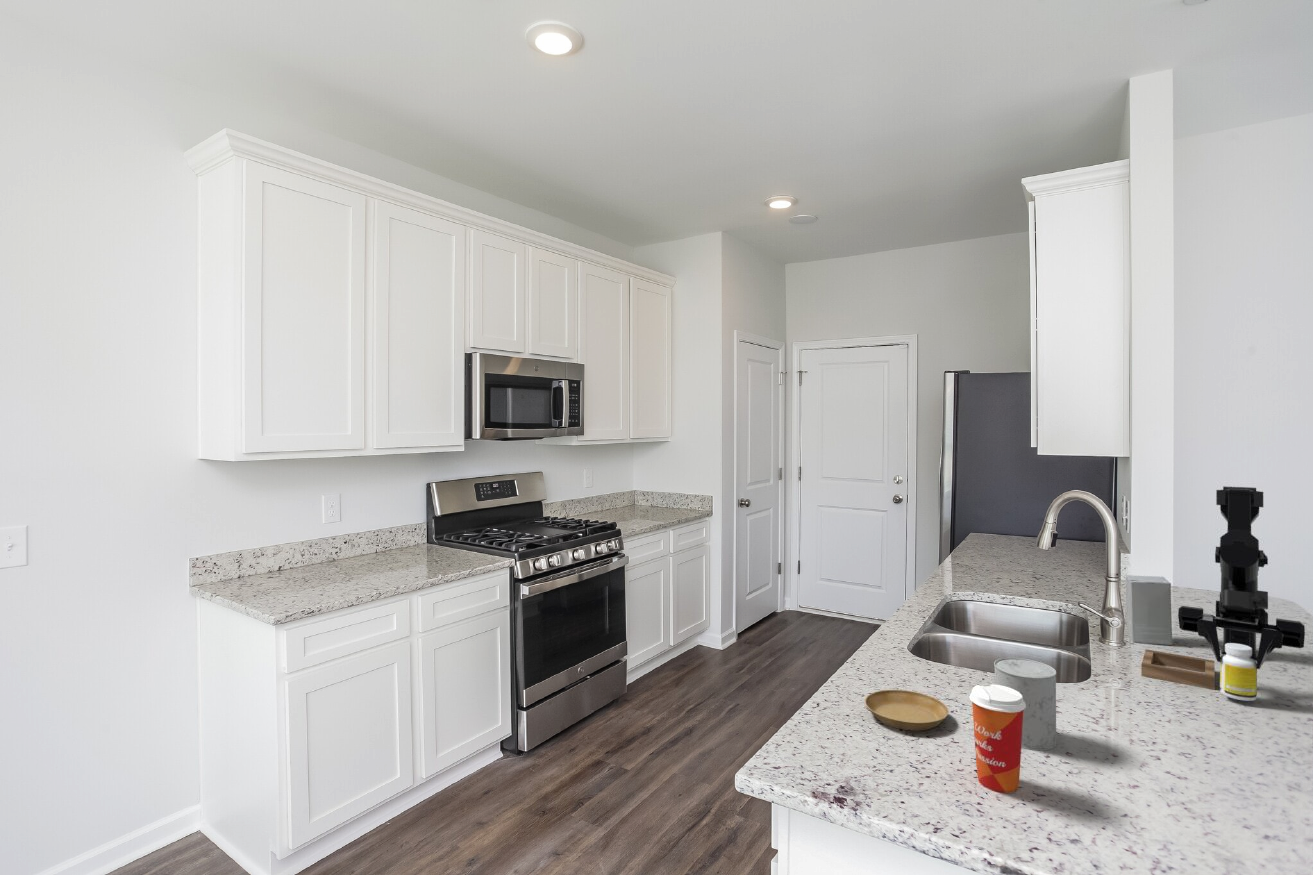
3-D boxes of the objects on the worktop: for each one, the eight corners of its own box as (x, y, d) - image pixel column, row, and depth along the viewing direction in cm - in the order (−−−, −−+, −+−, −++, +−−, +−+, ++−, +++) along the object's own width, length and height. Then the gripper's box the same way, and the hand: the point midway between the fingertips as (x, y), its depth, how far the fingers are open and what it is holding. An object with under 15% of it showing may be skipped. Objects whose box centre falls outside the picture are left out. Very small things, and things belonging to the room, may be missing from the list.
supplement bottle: (1264, 702, 125) (1264, 651, 125) (1231, 700, 126) (1231, 650, 126) (1244, 690, 130) (1244, 642, 130) (1213, 689, 131) (1213, 640, 131)
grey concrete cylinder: (1049, 728, 118) (1049, 660, 118) (1063, 753, 109) (1062, 680, 109) (990, 721, 121) (990, 655, 121) (999, 745, 112) (998, 674, 112)
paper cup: (960, 771, 104) (959, 683, 104) (1006, 768, 105) (1005, 681, 105) (989, 799, 96) (988, 704, 96) (1038, 795, 97) (1038, 701, 97)
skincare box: (1165, 638, 165) (1164, 575, 164) (1173, 647, 158) (1173, 582, 158) (1124, 634, 168) (1124, 573, 168) (1131, 643, 162) (1130, 579, 161)
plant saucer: (849, 717, 125) (849, 703, 124) (890, 695, 134) (890, 682, 134) (923, 745, 113) (923, 730, 113) (963, 719, 123) (963, 705, 123)
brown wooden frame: (1145, 659, 150) (1145, 649, 150) (1214, 672, 143) (1214, 660, 143) (1141, 675, 141) (1141, 664, 141) (1214, 689, 133) (1214, 677, 133)
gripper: (1178, 567, 137) (1174, 633, 129) (1304, 580, 124) (1307, 654, 116) (1181, 596, 143) (1177, 661, 135) (1302, 611, 130) (1305, 684, 122)
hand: (1238, 664), depth 127 cm, fingers closed on supplement bottle, 5 cm apart
